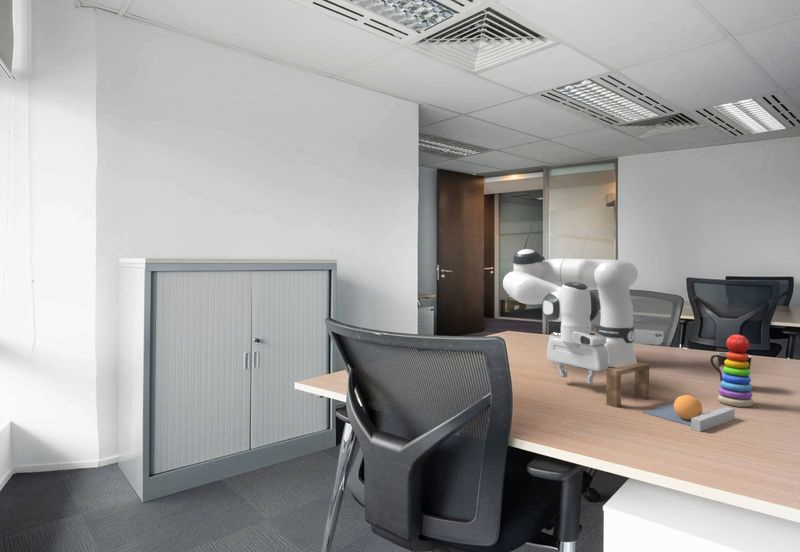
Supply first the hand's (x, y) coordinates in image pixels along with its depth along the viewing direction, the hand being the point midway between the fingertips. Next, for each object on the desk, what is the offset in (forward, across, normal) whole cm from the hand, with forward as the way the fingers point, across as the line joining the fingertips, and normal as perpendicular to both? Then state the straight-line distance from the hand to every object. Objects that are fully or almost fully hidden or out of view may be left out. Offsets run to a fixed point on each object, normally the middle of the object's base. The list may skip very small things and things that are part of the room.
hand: (575, 380), depth 149 cm
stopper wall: (+2, +40, 0) cm, 40 cm away
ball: (-1, +35, -2) cm, 35 cm away
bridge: (+2, +18, 0) cm, 18 cm away
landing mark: (+2, +32, 0) cm, 32 cm away
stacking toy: (+3, +34, +22) cm, 41 cm away
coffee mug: (+3, +26, +40) cm, 48 cm away
